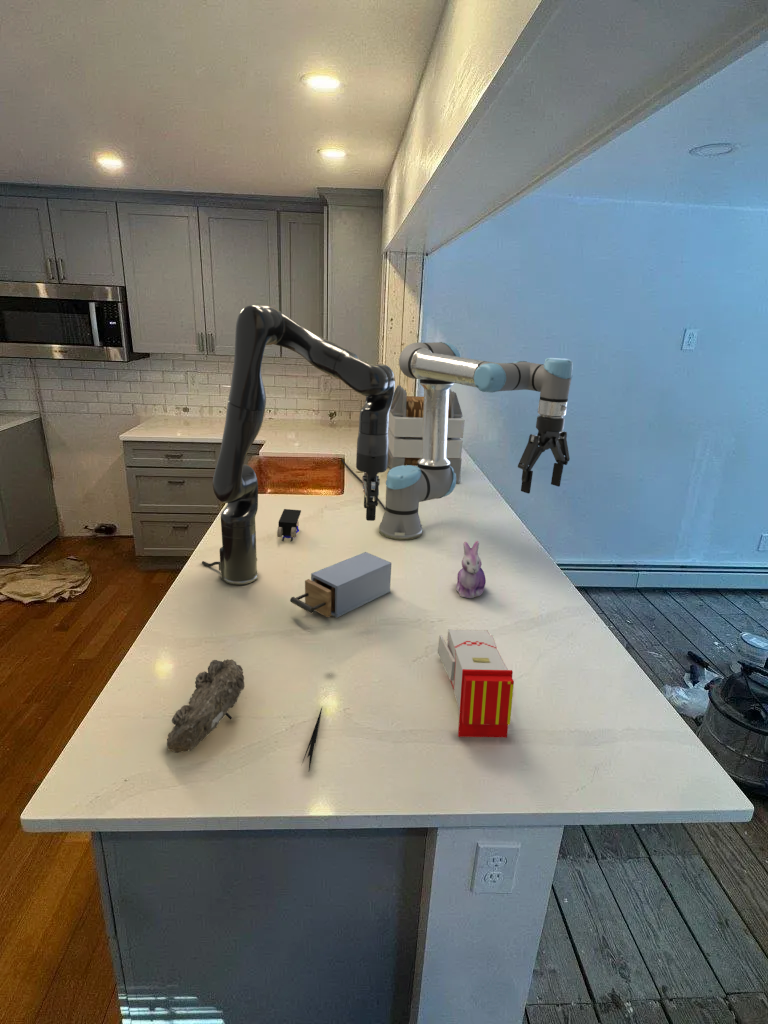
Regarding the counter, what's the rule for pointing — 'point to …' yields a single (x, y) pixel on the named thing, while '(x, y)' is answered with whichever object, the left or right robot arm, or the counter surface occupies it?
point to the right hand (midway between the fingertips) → (540, 488)
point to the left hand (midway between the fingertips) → (369, 513)
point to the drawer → (317, 598)
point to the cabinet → (356, 581)
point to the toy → (478, 682)
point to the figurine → (471, 573)
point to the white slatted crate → (420, 431)
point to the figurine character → (288, 524)
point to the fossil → (206, 705)
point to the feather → (313, 740)
